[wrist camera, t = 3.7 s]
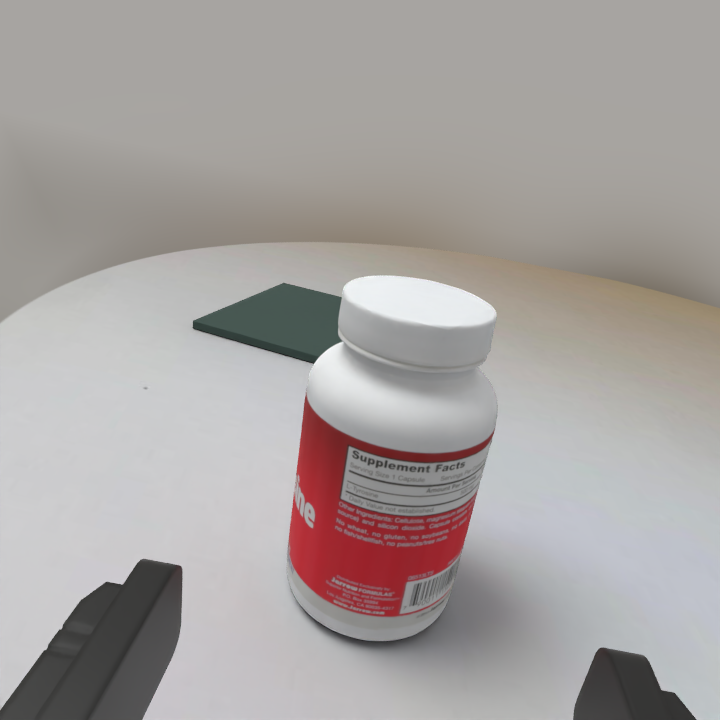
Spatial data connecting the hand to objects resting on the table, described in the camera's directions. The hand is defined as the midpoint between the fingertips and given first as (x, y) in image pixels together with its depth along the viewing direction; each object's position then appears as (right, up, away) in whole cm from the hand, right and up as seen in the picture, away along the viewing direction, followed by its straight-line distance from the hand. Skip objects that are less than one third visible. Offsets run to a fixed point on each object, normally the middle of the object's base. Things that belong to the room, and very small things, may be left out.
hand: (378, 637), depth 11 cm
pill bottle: (0, -3, +11) cm, 11 cm away
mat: (-4, +8, +35) cm, 36 cm away
